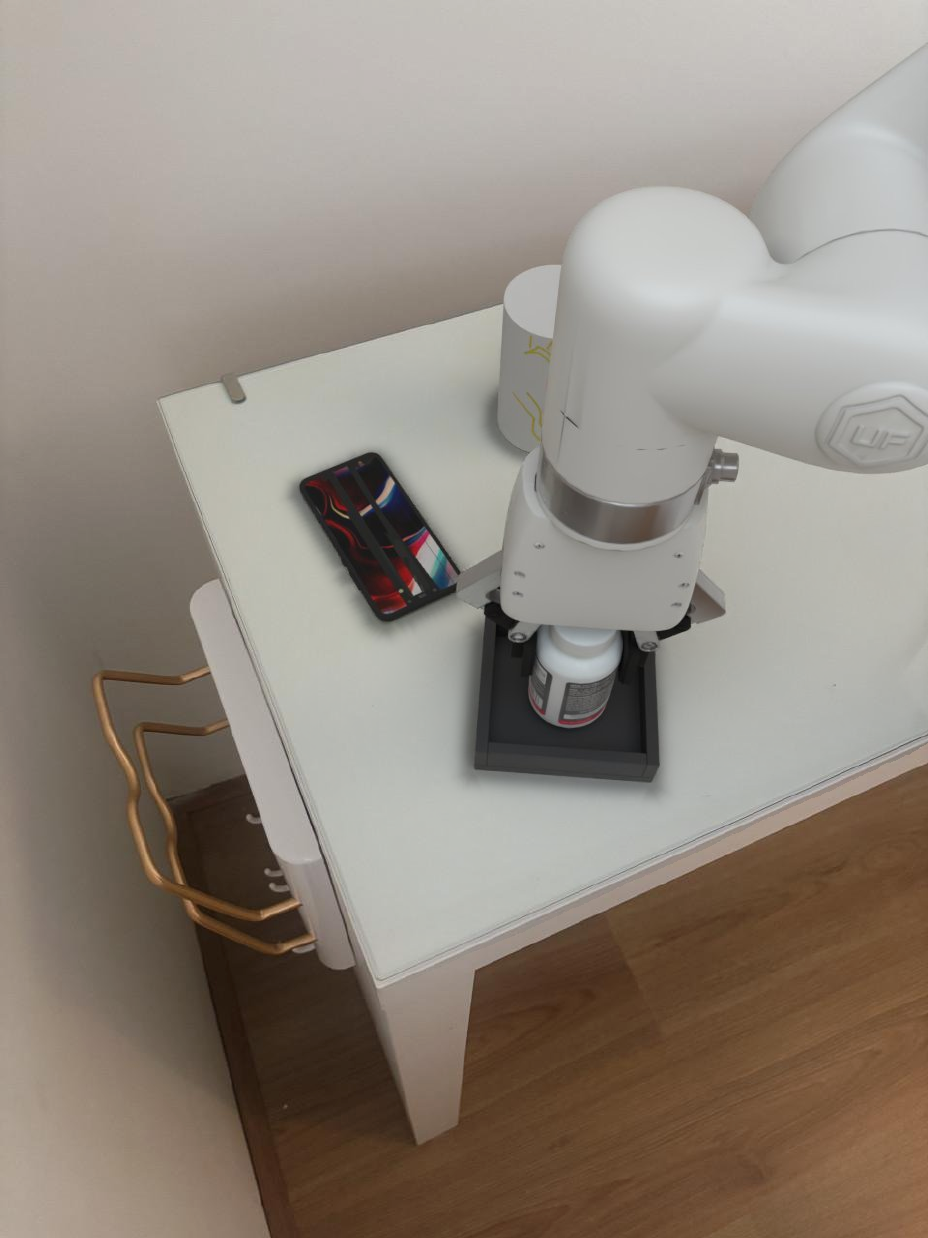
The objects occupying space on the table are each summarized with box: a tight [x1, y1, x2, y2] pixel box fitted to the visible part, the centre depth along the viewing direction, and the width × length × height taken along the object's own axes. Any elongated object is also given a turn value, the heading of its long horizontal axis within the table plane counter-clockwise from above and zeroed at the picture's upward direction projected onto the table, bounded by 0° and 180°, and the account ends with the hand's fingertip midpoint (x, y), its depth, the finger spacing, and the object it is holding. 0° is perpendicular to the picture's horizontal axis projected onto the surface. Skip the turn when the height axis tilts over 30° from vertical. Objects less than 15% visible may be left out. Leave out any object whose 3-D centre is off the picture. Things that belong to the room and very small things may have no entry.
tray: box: [473, 615, 661, 783], centre depth 61 cm, size 12×11×3 cm
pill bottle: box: [528, 624, 623, 728], centre depth 57 cm, size 5×5×10 cm
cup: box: [496, 264, 562, 454], centre depth 72 cm, size 8×8×12 cm
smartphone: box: [298, 451, 462, 623], centre depth 70 cm, size 7×1×15 cm
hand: (575, 659), depth 57 cm, fingers closed on pill bottle, 5 cm apart
